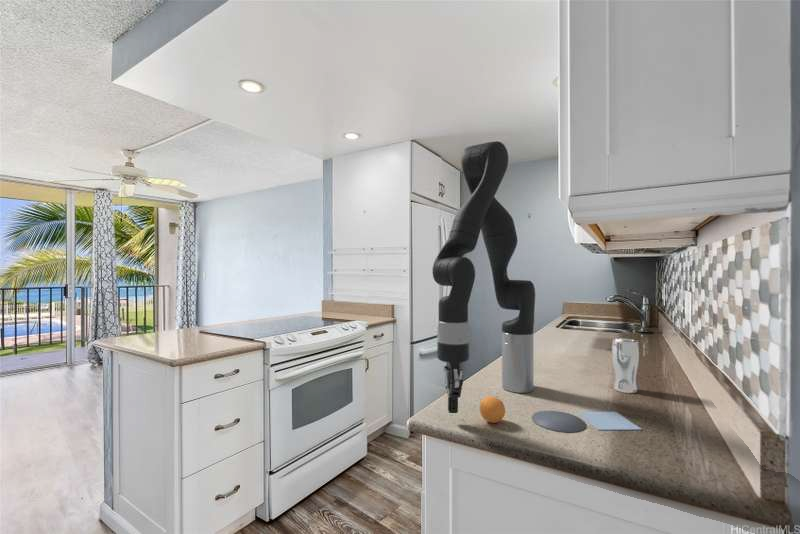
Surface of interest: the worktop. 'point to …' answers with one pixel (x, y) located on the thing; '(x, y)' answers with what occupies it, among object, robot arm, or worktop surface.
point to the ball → (492, 409)
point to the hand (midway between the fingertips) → (452, 411)
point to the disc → (558, 421)
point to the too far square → (608, 421)
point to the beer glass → (625, 364)
